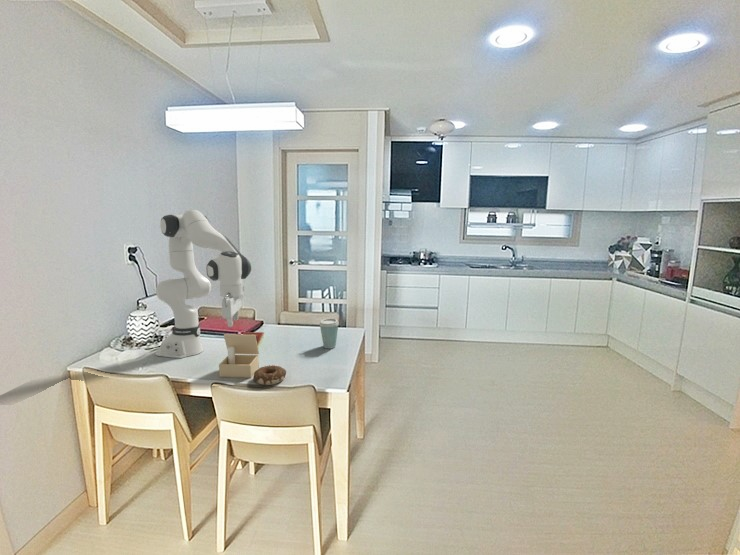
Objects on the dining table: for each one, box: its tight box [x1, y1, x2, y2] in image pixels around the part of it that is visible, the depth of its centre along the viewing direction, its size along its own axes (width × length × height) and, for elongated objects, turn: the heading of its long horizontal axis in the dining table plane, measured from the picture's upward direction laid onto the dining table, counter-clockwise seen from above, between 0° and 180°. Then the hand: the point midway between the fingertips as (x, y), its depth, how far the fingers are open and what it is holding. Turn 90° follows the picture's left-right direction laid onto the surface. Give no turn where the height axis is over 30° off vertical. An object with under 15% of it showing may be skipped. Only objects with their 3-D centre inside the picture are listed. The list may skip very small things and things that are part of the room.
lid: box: [223, 333, 260, 355], centre depth 181 cm, size 14×12×1 cm
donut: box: [252, 364, 287, 386], centre depth 172 cm, size 14×14×5 cm
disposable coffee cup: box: [319, 317, 340, 349], centre depth 214 cm, size 11×11×15 cm
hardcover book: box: [242, 331, 265, 350], centre depth 216 cm, size 12×21×4 cm, turn 6°
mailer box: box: [218, 346, 260, 379], centre depth 179 cm, size 14×12×11 cm
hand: (233, 323), depth 164 cm, fingers open, 8 cm apart
